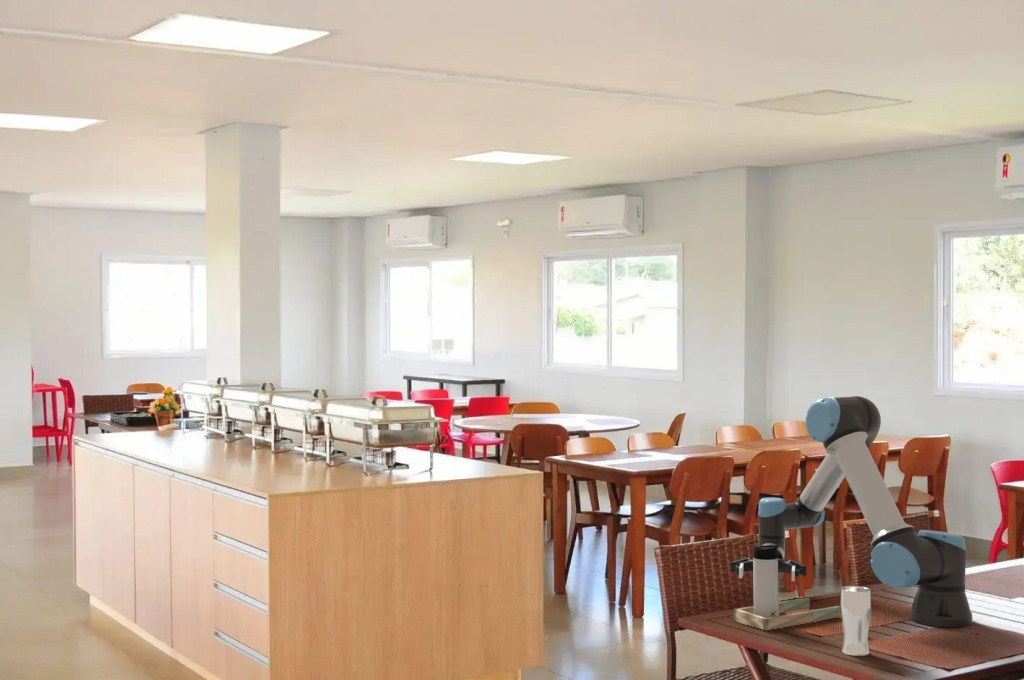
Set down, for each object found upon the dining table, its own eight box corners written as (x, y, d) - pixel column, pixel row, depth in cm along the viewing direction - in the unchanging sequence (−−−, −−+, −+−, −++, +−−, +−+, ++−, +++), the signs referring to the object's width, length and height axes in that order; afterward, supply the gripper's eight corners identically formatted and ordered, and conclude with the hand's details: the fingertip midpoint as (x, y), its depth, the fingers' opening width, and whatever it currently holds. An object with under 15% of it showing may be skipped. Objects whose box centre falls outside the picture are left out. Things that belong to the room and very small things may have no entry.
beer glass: (835, 648, 276) (836, 585, 276) (864, 648, 276) (864, 585, 276) (846, 657, 269) (846, 592, 269) (875, 656, 270) (876, 592, 269)
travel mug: (780, 625, 296) (779, 547, 296) (753, 624, 298) (752, 546, 298) (780, 620, 302) (779, 543, 302) (754, 619, 304) (753, 542, 304)
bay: (840, 618, 305) (840, 606, 305) (765, 631, 292) (765, 619, 292) (806, 608, 315) (806, 597, 315) (733, 620, 302) (733, 609, 302)
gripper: (815, 574, 324) (815, 591, 304) (725, 569, 331) (718, 586, 310) (815, 548, 324) (815, 562, 304) (725, 543, 331) (718, 557, 310)
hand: (766, 574), depth 307 cm, fingers open, 13 cm apart
